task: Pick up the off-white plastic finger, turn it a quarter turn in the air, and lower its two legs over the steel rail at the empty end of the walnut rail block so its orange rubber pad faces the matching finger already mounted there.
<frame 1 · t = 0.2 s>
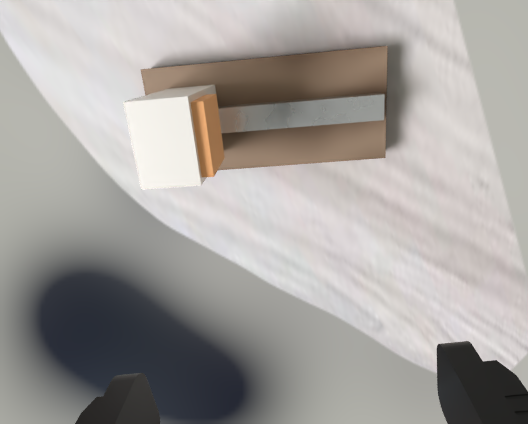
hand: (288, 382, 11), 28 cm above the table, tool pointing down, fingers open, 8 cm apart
rail: (267, 111, 36), on the table
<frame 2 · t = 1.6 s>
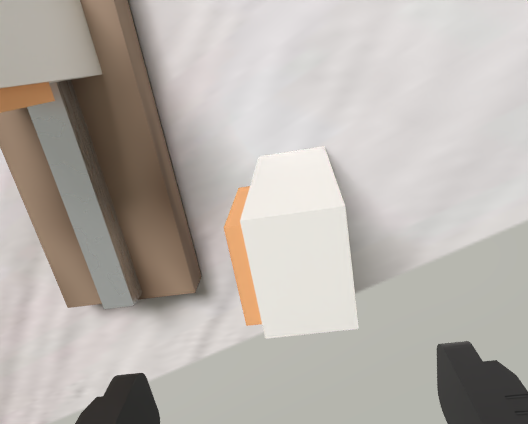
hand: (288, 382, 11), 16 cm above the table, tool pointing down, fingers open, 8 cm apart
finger: (297, 194, 25), on the table
rail: (94, 147, 25), on the table
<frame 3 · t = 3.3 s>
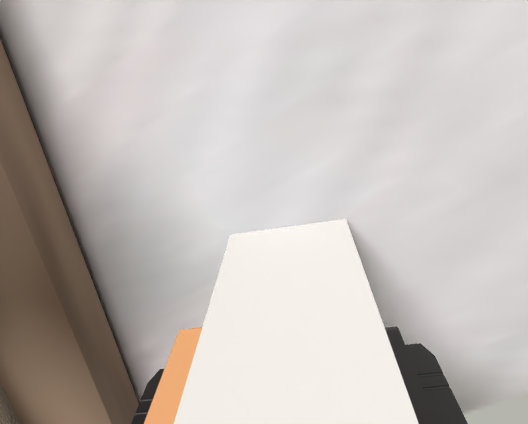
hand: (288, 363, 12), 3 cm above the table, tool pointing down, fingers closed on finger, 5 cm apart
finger: (298, 295, 15), on the table, touching gripper
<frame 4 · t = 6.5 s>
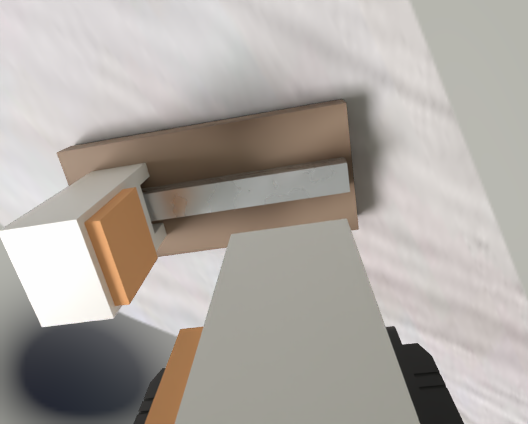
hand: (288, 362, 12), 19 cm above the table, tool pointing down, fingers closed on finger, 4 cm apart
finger: (299, 295, 15), point 16 cm above the table, touching gripper
rail: (215, 182, 30), on the table
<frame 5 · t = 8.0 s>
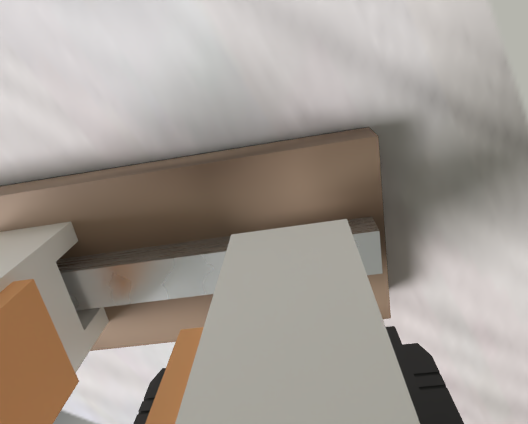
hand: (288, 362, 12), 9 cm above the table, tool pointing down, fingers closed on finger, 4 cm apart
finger: (299, 295, 15), point 6 cm above the table, touching gripper
rail: (180, 244, 21), on the table
when the fingers open (6 cm above the table, at t = 9.4 s): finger stays where it is, resting on rail.
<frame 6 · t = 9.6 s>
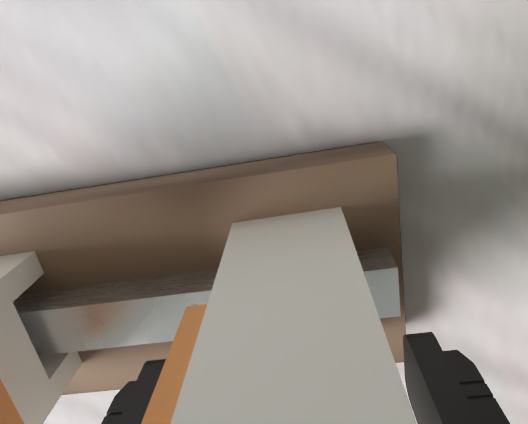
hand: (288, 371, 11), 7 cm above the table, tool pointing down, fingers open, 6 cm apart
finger: (297, 280, 16), point 2 cm above the table, touching rail
rail: (164, 273, 18), on the table
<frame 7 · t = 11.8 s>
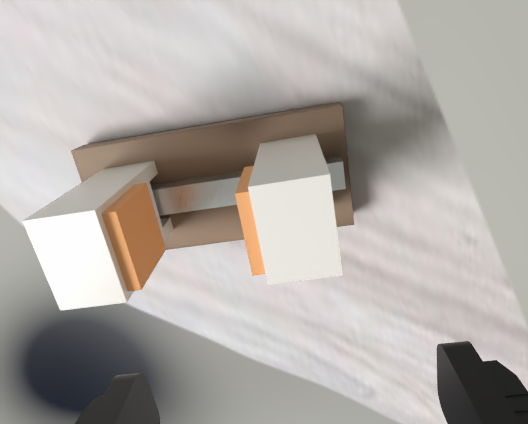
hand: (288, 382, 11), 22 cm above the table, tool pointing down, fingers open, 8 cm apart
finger: (293, 176, 30), point 2 cm above the table, touching rail
rail: (219, 180, 32), on the table
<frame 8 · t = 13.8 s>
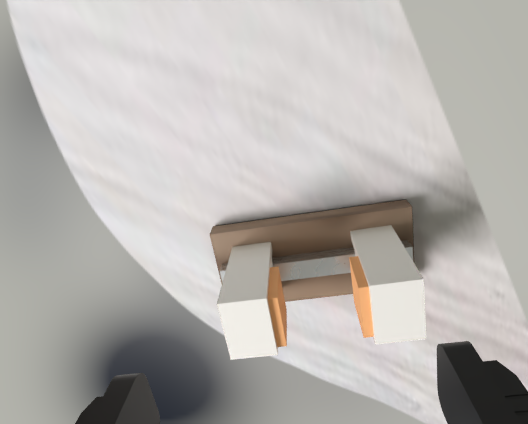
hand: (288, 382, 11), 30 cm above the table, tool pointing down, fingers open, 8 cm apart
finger: (372, 253, 41), point 2 cm above the table, touching rail
rail: (312, 251, 43), on the table
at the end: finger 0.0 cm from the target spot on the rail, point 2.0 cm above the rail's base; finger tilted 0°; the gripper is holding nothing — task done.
